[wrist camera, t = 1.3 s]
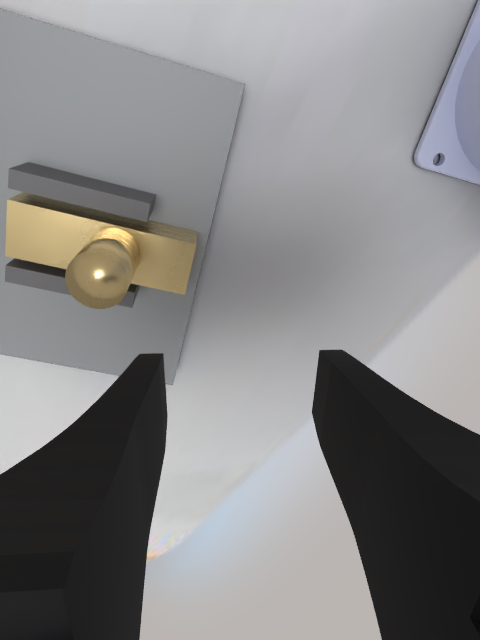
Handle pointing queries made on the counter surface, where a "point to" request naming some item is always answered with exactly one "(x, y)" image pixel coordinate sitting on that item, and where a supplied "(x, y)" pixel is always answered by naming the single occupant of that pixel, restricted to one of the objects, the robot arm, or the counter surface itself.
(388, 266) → the counter surface
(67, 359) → the door slab
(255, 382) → the counter surface
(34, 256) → the bolt
